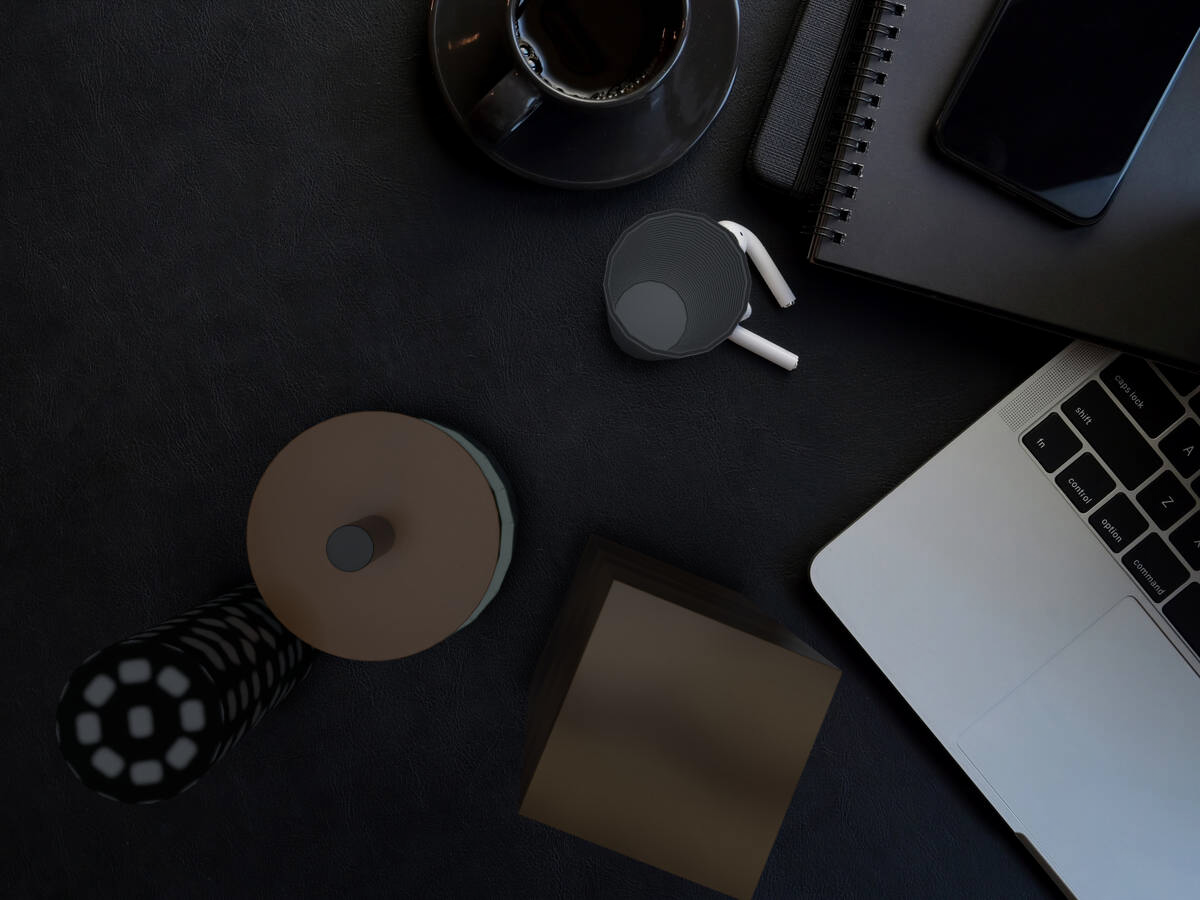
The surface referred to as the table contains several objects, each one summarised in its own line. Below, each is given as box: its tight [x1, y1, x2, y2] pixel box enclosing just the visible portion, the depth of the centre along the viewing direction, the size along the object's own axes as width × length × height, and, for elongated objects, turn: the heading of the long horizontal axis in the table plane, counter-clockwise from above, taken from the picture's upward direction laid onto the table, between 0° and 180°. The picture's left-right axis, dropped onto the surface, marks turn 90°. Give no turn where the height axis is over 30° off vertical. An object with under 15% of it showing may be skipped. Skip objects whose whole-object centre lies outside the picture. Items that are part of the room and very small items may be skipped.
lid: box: [245, 410, 500, 662], centre depth 55 cm, size 16×16×8 cm
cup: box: [602, 208, 753, 362], centre depth 61 cm, size 8×8×16 cm
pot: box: [417, 417, 520, 641], centre depth 63 cm, size 15×15×9 cm
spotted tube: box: [55, 582, 320, 805], centre depth 57 cm, size 8×8×20 cm
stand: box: [517, 532, 844, 900], centre depth 56 cm, size 12×12×24 cm
